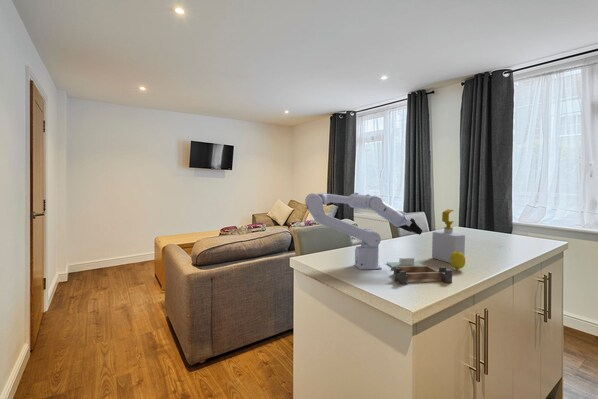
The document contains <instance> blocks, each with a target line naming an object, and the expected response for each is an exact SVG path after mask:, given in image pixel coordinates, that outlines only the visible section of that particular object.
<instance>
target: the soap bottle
mask: <svg viewBox="0 0 598 399" xmlns="http://www.w3.org/2000/svg"><path fill="white" fill-rule="evenodd" d="M452 212H454V209H446V210H444V211H442V213H441V216H442V217H441V220H442V223H444V224H445V226H444V227H443V230H437V231H432V240H431V242H432V244H431V245H432V246H431V259H435V260H438V261H442V262H446V263H448V264H450V256H451V254H452V253H453V252H456V251H459V252H461V253H462V254H463V255H464V256H466V255H465V252H466V251H465V248H466V244H465V243H466V235H465V234H462V233H457V232H456V233H455V232H453V231H454V228H453V227H452V225H453V223H455V222H454V220H453V221H452V220H450V213H452Z"/></svg>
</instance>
